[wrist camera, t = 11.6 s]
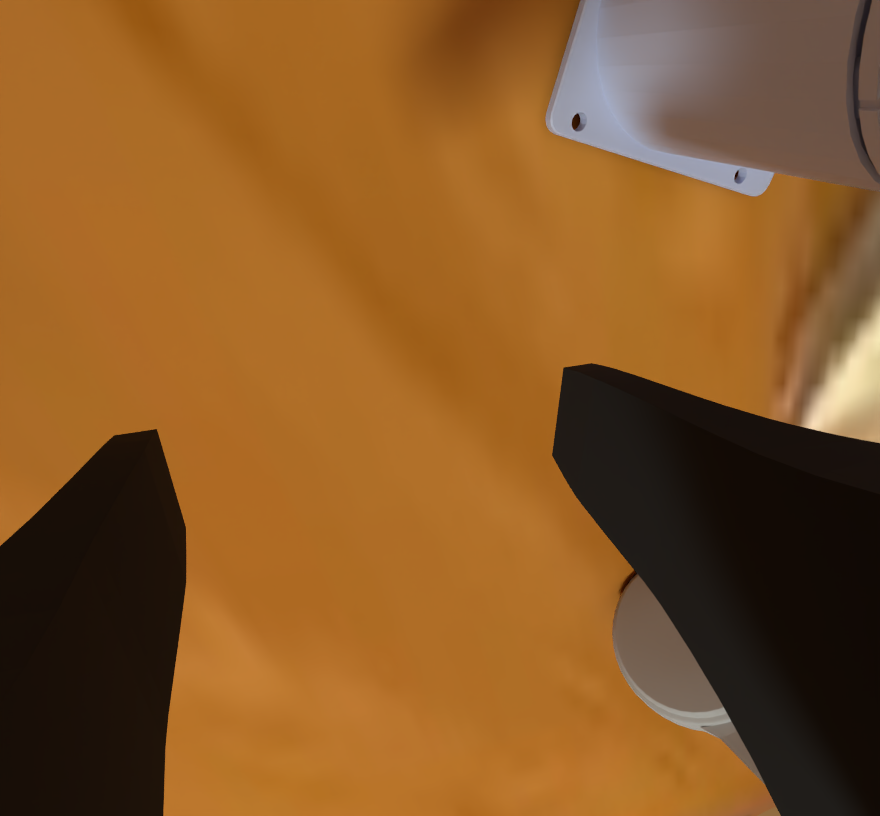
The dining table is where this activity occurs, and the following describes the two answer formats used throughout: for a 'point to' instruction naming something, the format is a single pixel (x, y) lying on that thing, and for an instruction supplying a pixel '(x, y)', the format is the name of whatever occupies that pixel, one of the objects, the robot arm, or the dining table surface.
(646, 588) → the headphones
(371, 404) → the dining table surface
